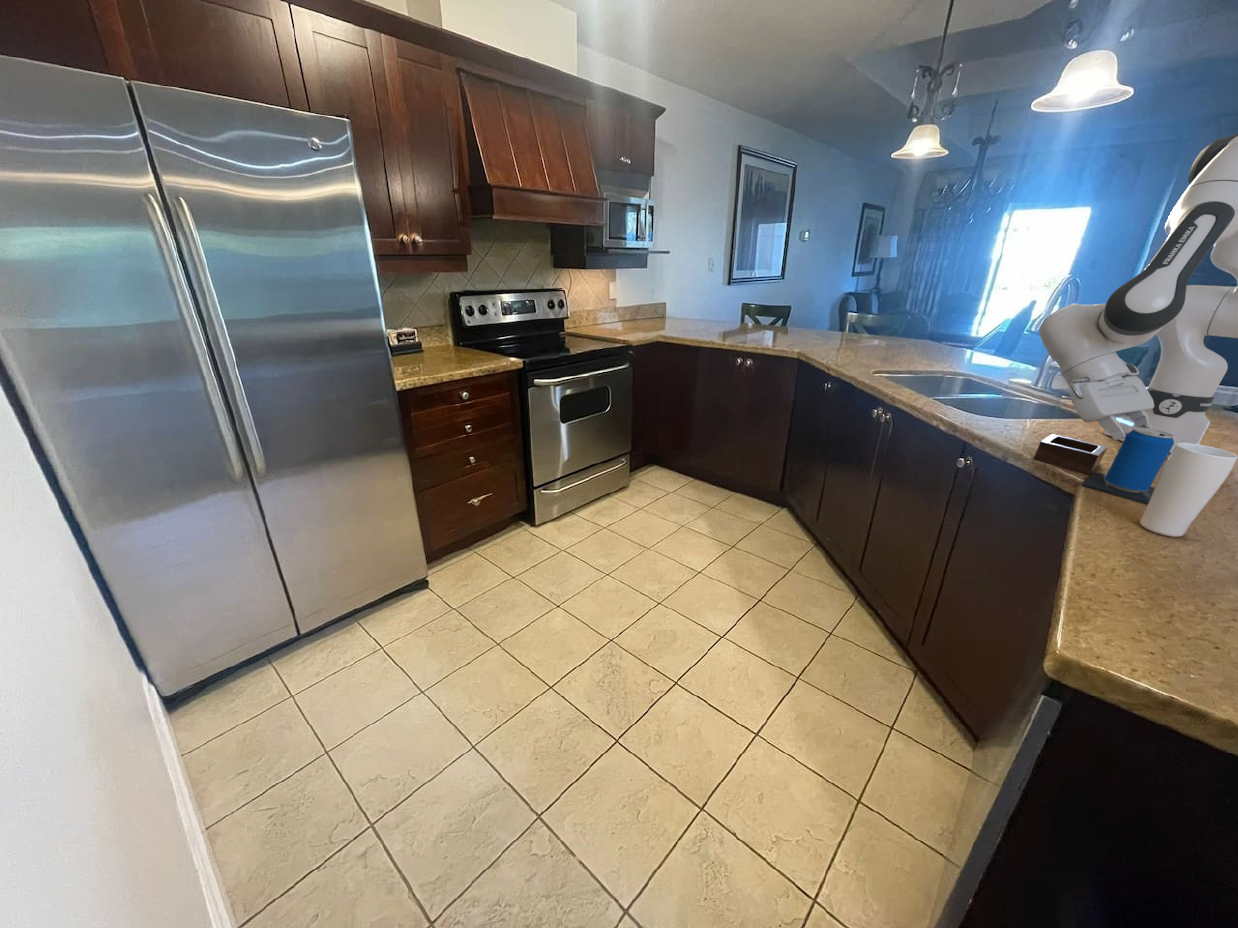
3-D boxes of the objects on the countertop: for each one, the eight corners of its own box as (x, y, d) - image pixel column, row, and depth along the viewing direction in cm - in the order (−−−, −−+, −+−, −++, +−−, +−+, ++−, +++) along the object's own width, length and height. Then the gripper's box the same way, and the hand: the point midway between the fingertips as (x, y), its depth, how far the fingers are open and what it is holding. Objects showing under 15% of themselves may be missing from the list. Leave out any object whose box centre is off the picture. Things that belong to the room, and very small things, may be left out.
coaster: (1093, 473, 104) (1094, 471, 104) (1165, 492, 96) (1166, 490, 96) (1082, 485, 98) (1083, 483, 97) (1157, 507, 90) (1159, 505, 90)
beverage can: (1155, 496, 93) (1187, 439, 88) (1118, 492, 94) (1147, 435, 89) (1130, 482, 99) (1158, 428, 94) (1095, 478, 100) (1121, 425, 95)
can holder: (1044, 450, 116) (1052, 433, 114) (1099, 464, 109) (1107, 446, 107) (1032, 459, 111) (1040, 441, 109) (1089, 474, 103) (1098, 455, 102)
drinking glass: (1124, 523, 83) (1167, 444, 77) (1143, 517, 86) (1186, 440, 80) (1177, 543, 77) (1228, 460, 71) (1196, 536, 80) (1247, 455, 74)
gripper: (1085, 370, 92) (1126, 434, 88) (1140, 365, 100) (1180, 424, 95) (1050, 387, 98) (1087, 448, 93) (1104, 381, 105) (1140, 437, 101)
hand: (1134, 435), depth 94 cm, fingers open, 8 cm apart
